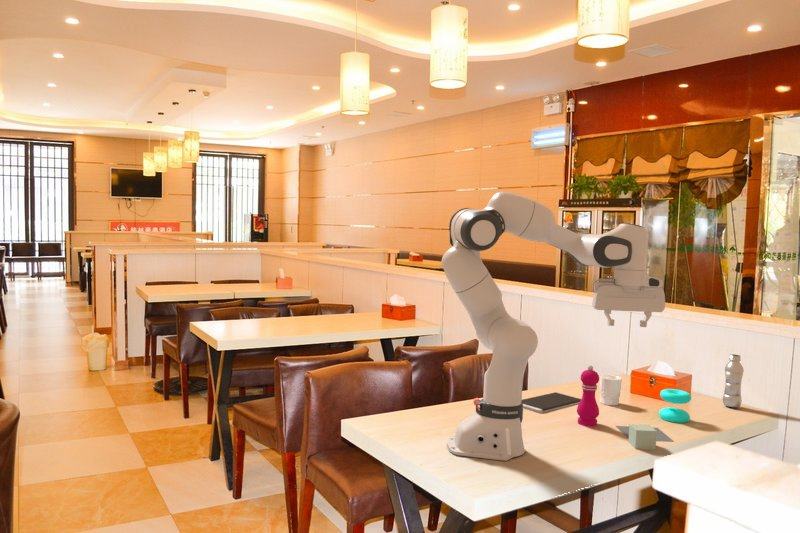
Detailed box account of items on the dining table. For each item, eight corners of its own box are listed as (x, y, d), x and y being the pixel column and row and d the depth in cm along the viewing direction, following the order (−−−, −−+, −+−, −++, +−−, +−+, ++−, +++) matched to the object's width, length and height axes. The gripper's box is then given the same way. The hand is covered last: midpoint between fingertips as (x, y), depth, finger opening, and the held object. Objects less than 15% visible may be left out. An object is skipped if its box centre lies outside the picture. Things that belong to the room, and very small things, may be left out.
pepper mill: (599, 428, 204) (603, 368, 203) (576, 426, 205) (580, 366, 204) (597, 422, 211) (600, 364, 210) (575, 420, 212) (578, 362, 211)
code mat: (629, 440, 193) (629, 439, 193) (615, 426, 207) (615, 425, 207) (674, 442, 192) (674, 441, 192) (657, 428, 206) (657, 427, 206)
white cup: (623, 406, 232) (624, 380, 231) (602, 405, 232) (603, 379, 231) (616, 400, 239) (617, 375, 239) (595, 399, 239) (597, 374, 239)
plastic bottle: (741, 406, 237) (745, 355, 236) (740, 410, 232) (744, 357, 231) (722, 403, 241) (726, 352, 240) (721, 407, 235) (724, 355, 234)
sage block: (635, 449, 185) (636, 430, 184) (628, 443, 191) (629, 423, 190) (655, 450, 185) (656, 431, 184) (648, 443, 191) (649, 424, 190)
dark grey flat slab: (584, 403, 236) (584, 399, 236) (541, 415, 218) (541, 410, 218) (555, 395, 246) (555, 391, 246) (511, 405, 229) (511, 401, 228)
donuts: (695, 392, 217) (685, 397, 209) (693, 420, 217) (683, 426, 210) (666, 386, 224) (655, 391, 216) (664, 413, 224) (654, 419, 217)
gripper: (597, 278, 178) (594, 326, 179) (668, 281, 177) (665, 329, 178) (590, 277, 184) (588, 323, 185) (660, 279, 184) (657, 325, 185)
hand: (626, 326), depth 182 cm, fingers open, 8 cm apart
